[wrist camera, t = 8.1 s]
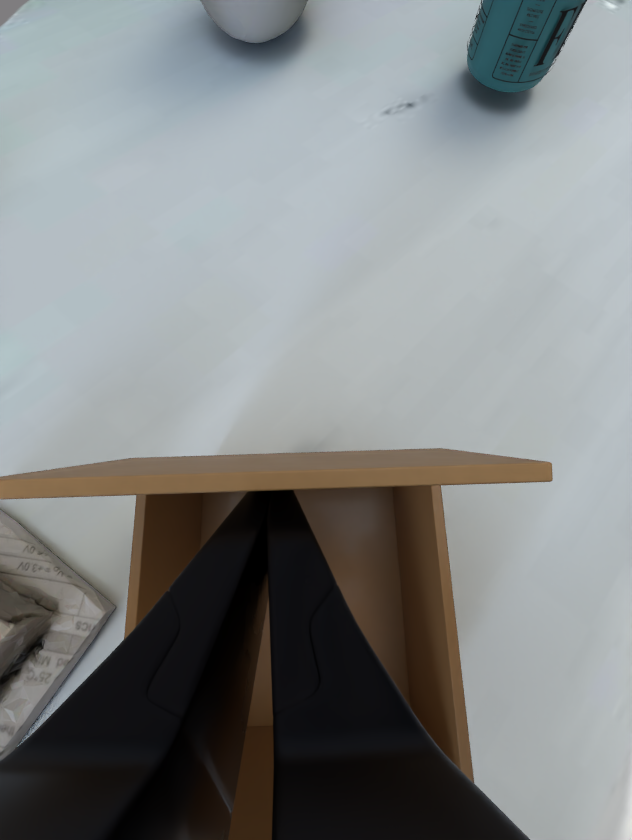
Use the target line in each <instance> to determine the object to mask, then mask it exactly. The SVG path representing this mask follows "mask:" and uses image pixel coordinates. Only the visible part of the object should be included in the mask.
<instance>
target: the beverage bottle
mask: <svg viewBox="0 0 632 840" xmlns="http://www.w3.org/2000/svg"><path fill="white" fill-rule="evenodd" d="M586 1H587V0H483V3H482V0H481V5H482V6H481V9H480V10H479V14H478V15H479V16H478V15H476V18H477V19H476V18H475V19H476V23H475V28H474V31H473V32H472V33H473V34H472V37H471V39H470V42H469V43H470V44H469V47H468V44H467V50H468V55H467V63H468V67H469V70H470V72H471V74H472V75H473V76H474V77H475V78H476V79H477V80H478V81H479V82H480V83H482V84H483V85H485V86H487V87H489V88H491V89H494V90H497V91H502V92H520V91H525V90H528V89H530V88H532V87H534V86H535V85H537V84H538V83H539V82H540V81H541V80H542V78H543V77H544V76H545V75H546V74H547V72H548V70H549V68H550V67H551V66H552V65H553V64H554V63H555V62H554V63H553V61H554V59H555V58H556V57H557V56H559V52H561V51H560V50H561V48H562V46H563V47H564V45H563V44H565V43H564V42H565V40H566V38H567V36H568V34H569V33H571V32H570V31H572V30H571V29H573V27H574V26H573V25H575V24H574V23H576V22H575V21H577V20H576V19H578V18H577V17H579V16H578V15H580V14H579V13H581V11H582V9H583V7H584V5H585V3H586ZM477 13H478V12H477ZM477 16H478V17H477ZM473 27H474V26H473ZM569 35H570V34H569ZM470 36H471V35H470ZM568 37H569V36H568ZM469 38H470V37H469ZM567 39H568V38H567ZM468 41H469V40H468ZM555 61H556V59H555ZM552 63H553V64H552ZM551 69H552V68H551Z"/></svg>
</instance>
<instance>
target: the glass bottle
mask: <svg viewBox="0 0 632 840" xmlns="http://www.w3.org/2000/svg"><path fill="white" fill-rule="evenodd" d="M307 1H308V0H201V2H202V4H203V6H204V8H205V10H206V11H207V13H208V14H209V16H210V17H211V18H212V20H213V21H214V22H215V23H216V24H217V25H218V26H219V27H220V28H221V29H222V30H223V31H224V32H226V33H227V34H228V35H230V36H231V37H233V38H236V39H239V40H242V41H245V42H248V43H262V42H266V41H269V40H271V39H274V38H276V37H278V36H280V35H281V34H283V33H285V32H286V31H287V30H289V29H290V28H291V27H292V25H293V24H294V23H295V22H296V21H297V19H298V18H299V16H300V15H301V13H302V11H303V9H304V7H305V5H306V3H307Z"/></svg>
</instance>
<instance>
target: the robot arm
mask: <svg viewBox="0 0 632 840" xmlns="http://www.w3.org/2000/svg"><path fill="white" fill-rule="evenodd" d="M268 597H269V624H270V653H271V682H272V711H273V751H274V771H273V811H272V840H530V839H529V838H528V837H527V836H526V835H525V834H524V833H523V832H522V831H521V830H520V829H519V828H518V827H517V826H516V825H515V824H514V823H513V822H512V821H511V820H510V819H509V818H508V817H507V816H506V815H505V814H504V813H503V812H502V811H501V810H500V809H499V808H498V807H497V806H496V805H495V804H494V803H493V802H492V801H491V800H490V799H489V798H488V797H487V796H486V795H485V794H484V793H483V792H482V791H481V790H480V789H479V788H478V787H477V786H476V785H475V784H474V783H473V782H472V781H471V780H470V779H469V778H468V777H467V776H466V775H465V774H464V773H463V772H462V771H461V770H460V769H459V768H458V767H457V766H456V765H455V764H454V763H453V762H452V761H451V760H450V759H449V758H448V757H447V756H446V755H445V754H444V753H443V751H442V750H441V749H440V748H439V747H438V745H437V744H436V743H435V742H434V740H433V739H432V738H431V737H430V735H429V734H428V733H427V731H426V730H425V728H424V727H423V726H422V724H421V723H420V721H419V720H418V718H417V717H416V716H415V714H414V713H413V711H412V710H411V708H410V706H409V705H408V703H407V702H406V700H405V699H404V697H403V696H402V694H401V692H400V691H399V689H398V688H397V686H396V685H395V683H394V681H393V680H392V678H391V677H390V675H389V674H388V672H387V671H386V669H385V667H384V666H383V664H382V663H381V661H380V660H379V658H378V656H377V655H376V653H375V652H374V650H373V649H372V647H371V645H370V644H369V642H368V640H367V639H366V637H365V635H364V634H363V632H362V630H361V629H360V627H359V625H358V624H357V622H356V620H355V618H354V616H353V614H352V612H351V610H350V608H349V606H348V604H347V602H346V600H345V598H344V596H343V594H342V592H341V590H340V588H339V586H338V585H337V582H336V580H335V577H334V575H333V573H332V571H331V569H330V567H329V565H328V563H327V560H326V558H325V556H324V554H323V552H322V550H321V548H320V546H319V543H318V541H317V539H316V537H315V535H314V533H313V531H312V528H311V526H310V524H309V522H308V520H307V518H306V516H305V514H304V511H303V509H302V507H301V505H300V503H299V501H298V499H297V497H296V494H295V492H294V490H277V491H248V492H247V493H246V494H245V495H244V497H243V498H242V499H241V500H240V501H239V503H238V504H237V505H236V506H235V508H234V509H233V510H232V511H231V512H230V514H229V515H228V516H227V517H226V519H225V520H224V521H223V522H222V523H221V525H220V526H219V527H218V528H217V530H216V531H215V532H214V533H213V534H212V536H211V537H210V538H209V539H208V541H207V542H206V543H205V544H204V545H203V547H202V548H201V549H200V550H199V552H198V553H197V554H196V555H195V556H194V558H193V559H192V560H191V561H190V563H189V564H188V565H187V566H186V567H185V569H184V570H183V571H182V572H181V574H180V575H179V576H178V577H177V578H176V580H175V581H174V582H173V583H172V585H171V586H170V587H169V591H166V592H165V593H164V594H163V595H162V597H161V598H160V599H159V600H158V601H157V603H156V604H155V605H154V606H153V607H152V609H151V610H150V611H149V612H148V613H147V614H146V616H145V617H144V618H143V619H142V620H141V621H140V623H139V624H138V625H137V626H136V627H135V628H134V630H133V631H132V632H131V633H130V634H129V635H128V636H127V637H126V638H125V639H124V640H123V641H122V642H121V643H120V645H119V646H118V647H117V648H116V649H115V650H114V651H113V652H112V653H111V654H110V655H109V656H108V657H107V658H106V659H105V660H104V661H103V662H102V663H101V664H100V666H99V667H98V668H97V669H96V670H95V671H94V672H93V673H92V674H91V675H90V676H89V677H88V678H87V679H86V680H85V681H84V682H83V683H82V684H81V685H80V686H79V687H78V688H77V689H76V690H75V691H74V692H73V693H72V694H71V695H70V696H69V697H68V698H67V699H66V700H65V701H64V703H63V704H62V705H61V706H60V707H59V708H58V709H57V710H56V711H55V712H54V713H53V714H52V715H51V716H50V717H49V718H48V719H47V720H46V721H45V722H44V723H43V724H42V725H41V726H40V727H39V728H38V729H37V730H36V731H35V732H34V733H33V734H32V735H31V736H30V737H28V738H27V739H26V740H25V741H24V742H23V743H22V744H21V745H19V746H18V747H17V748H16V749H15V750H14V751H12V752H11V753H10V754H9V755H7V756H6V757H5V758H3V759H2V760H1V761H0V840H228V837H229V831H230V825H231V819H232V814H231V812H232V811H233V807H234V801H235V795H236V789H237V783H238V777H239V771H240V765H241V759H242V753H243V747H244V741H245V735H246V729H247V723H248V717H249V711H250V705H251V699H252V693H253V687H254V681H255V675H256V669H257V663H258V657H259V651H260V645H261V639H262V633H263V627H264V621H265V615H266V609H267V603H268Z"/></svg>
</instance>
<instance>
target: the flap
mask: <svg viewBox="0 0 632 840" xmlns="http://www.w3.org/2000/svg"><path fill="white" fill-rule="evenodd" d="M552 480H553V478H552V464H551V463H550V462H545V461H537V460H529V459H521V458H513V457H505V456H497V455H490V454H482V453H474V452H466V451H458V450H450V449H442V448H437V449H405V450H373V451H341V452H309V453H277V454H246V455H214V456H182V457H150V458H129V459H122V460H115V461H108V462H101V463H94V464H86V465H79V466H72V467H65V468H58V469H51V470H44V471H37V472H30V473H23V474H16V475H9V476H2V477H0V499H27V498H59V497H90V496H121V495H152V494H183V493H214V492H246V491H277V490H308V489H339V488H370V487H402V486H433V485H464V484H495V483H526V482H550V481H552Z"/></svg>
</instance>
